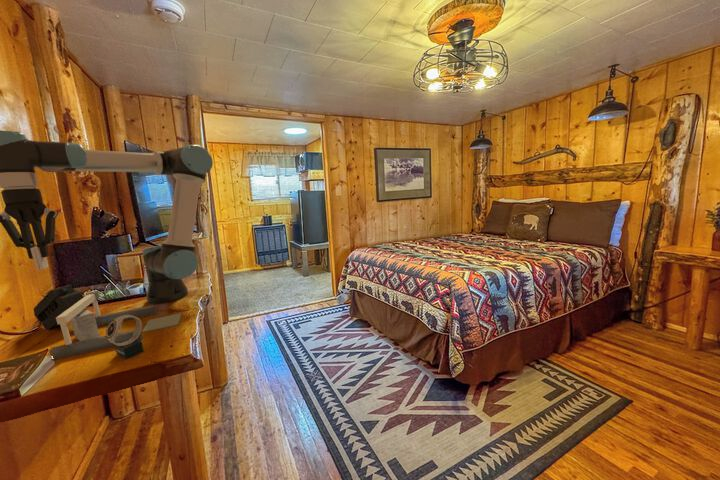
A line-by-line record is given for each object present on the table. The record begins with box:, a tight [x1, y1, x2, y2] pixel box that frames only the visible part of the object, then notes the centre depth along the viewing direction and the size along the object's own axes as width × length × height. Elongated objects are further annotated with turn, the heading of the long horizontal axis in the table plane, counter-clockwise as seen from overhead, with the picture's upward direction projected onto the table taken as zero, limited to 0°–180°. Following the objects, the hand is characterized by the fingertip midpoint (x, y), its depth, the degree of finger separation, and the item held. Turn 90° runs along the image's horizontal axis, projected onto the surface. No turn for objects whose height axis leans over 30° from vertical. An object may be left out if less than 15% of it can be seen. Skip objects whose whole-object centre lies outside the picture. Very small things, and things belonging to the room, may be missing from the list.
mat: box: [142, 313, 183, 334], centre depth 103 cm, size 10×10×1 cm
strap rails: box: [48, 304, 158, 360], centre depth 98 cm, size 21×24×3 cm
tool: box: [33, 284, 86, 331], centre depth 105 cm, size 6×19×15 cm
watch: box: [105, 315, 145, 360], centre depth 83 cm, size 6×8×11 cm
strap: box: [56, 290, 101, 345], centre depth 95 cm, size 2×24×9 cm, turn 24°
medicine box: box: [69, 308, 101, 342], centre depth 95 cm, size 8×4×9 cm, turn 56°
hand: (42, 268), depth 89 cm, fingers closed
